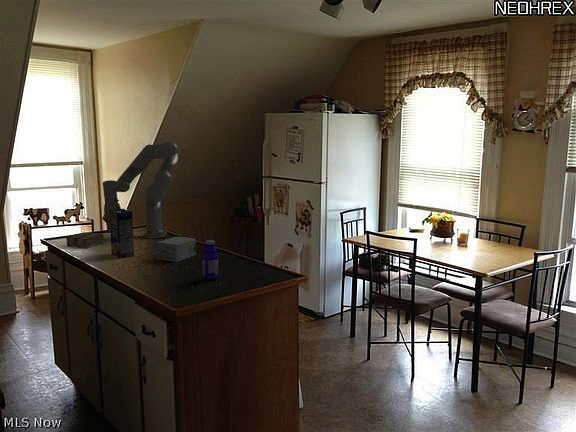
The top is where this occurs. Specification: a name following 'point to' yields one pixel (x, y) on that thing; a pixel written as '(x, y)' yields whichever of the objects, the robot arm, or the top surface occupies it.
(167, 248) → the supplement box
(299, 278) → the top surface
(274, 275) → the top surface
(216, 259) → the bottle
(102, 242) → the grey flat block
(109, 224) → the terracotta cube
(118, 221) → the juice carton
